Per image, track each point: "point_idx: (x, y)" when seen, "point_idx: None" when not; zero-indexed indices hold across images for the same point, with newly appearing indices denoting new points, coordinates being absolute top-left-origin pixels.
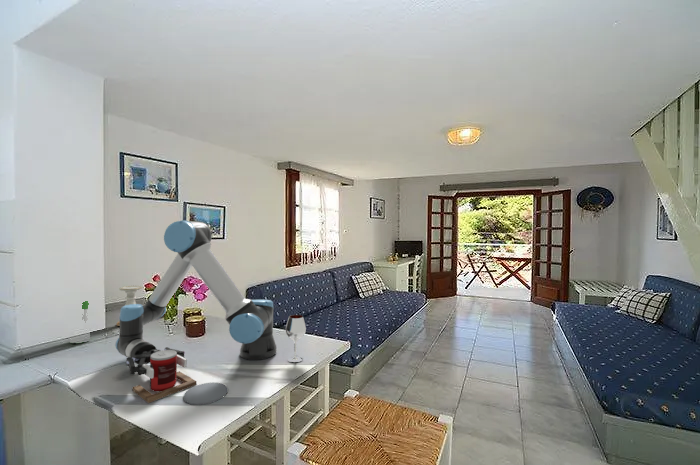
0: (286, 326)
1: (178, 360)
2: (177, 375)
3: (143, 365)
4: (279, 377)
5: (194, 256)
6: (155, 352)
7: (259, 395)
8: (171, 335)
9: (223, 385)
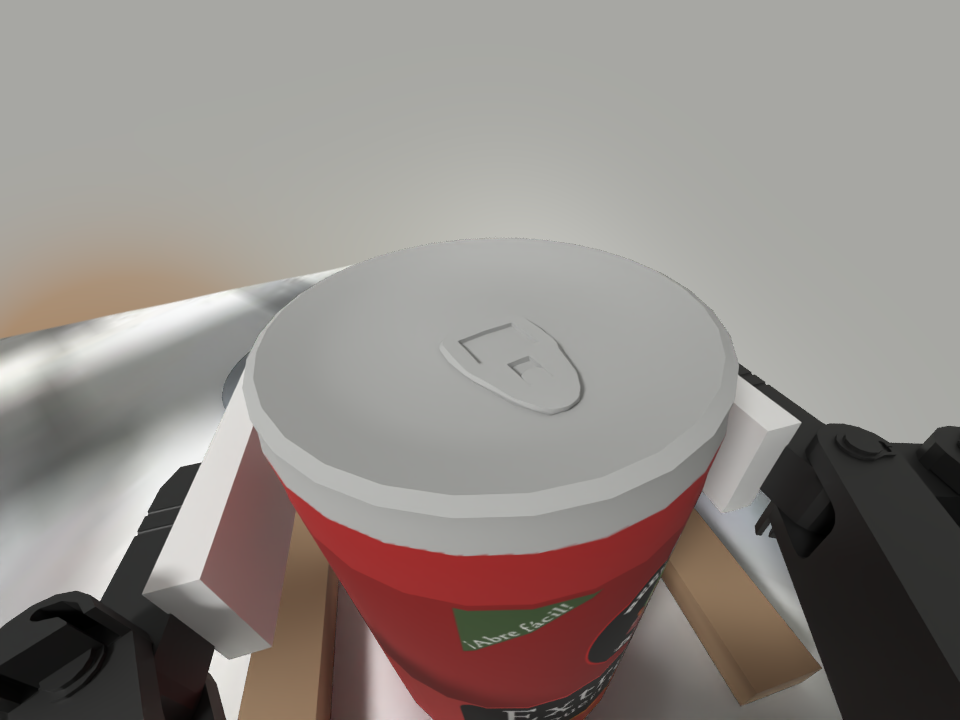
0: None
1: (267, 501)
2: (317, 697)
3: (768, 401)
4: (37, 353)
5: None
6: (667, 436)
7: (232, 300)
8: None
9: (238, 373)
